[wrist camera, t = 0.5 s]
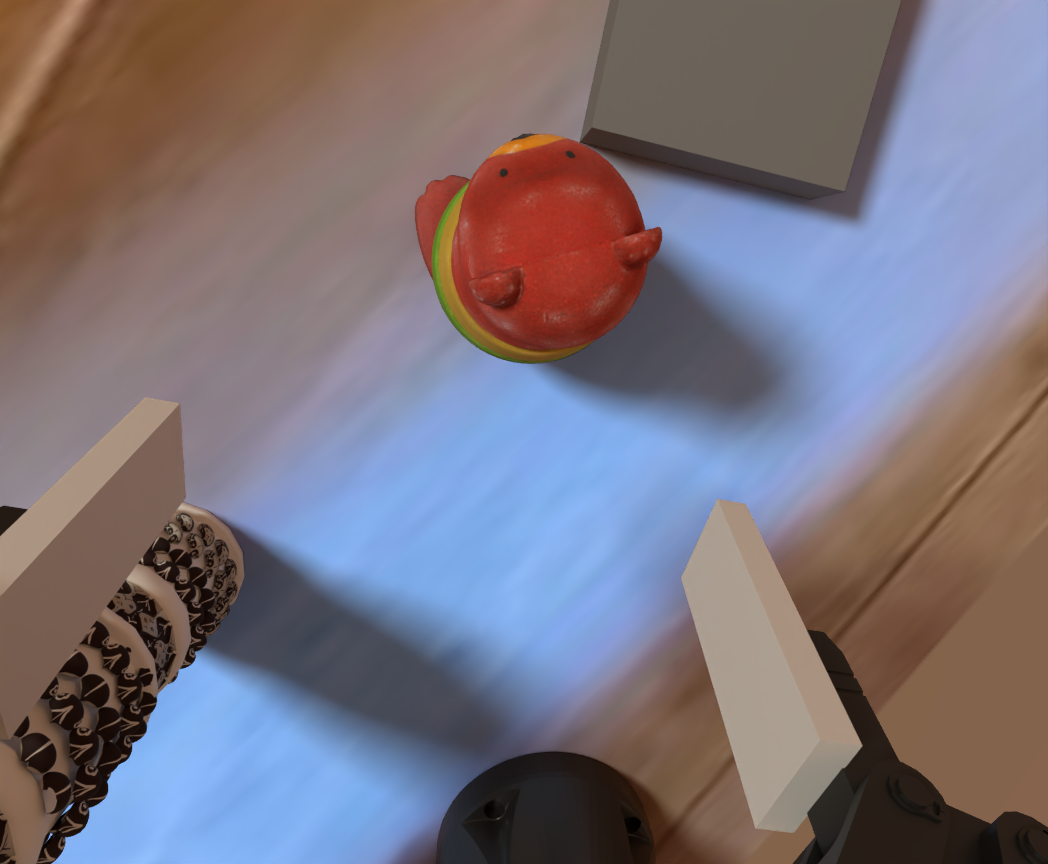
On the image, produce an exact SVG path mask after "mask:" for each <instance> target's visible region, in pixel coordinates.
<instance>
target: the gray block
mask: <svg viewBox="0 0 1048 864" xmlns="http://www.w3.org/2000/svg"><path fill="white" fill-rule="evenodd" d="M900 3H901V0H610V3H609V8H608V12H607V17H606V22H605V26H604V31H603V36H602V40H601V45H600V50H599V54H598V59H597V64H596V68H595V73H594V78H593V82H592V87H591V92H590V96H589V101H588V106H587V110H586V115H585V120H584V124H583V129H582V134H581V138H580V142H582V143H586V144H590V145H594V146H598V147H602V148H606V149H610V150H614V151H618V152H622V153H626V154H630V155H634V156H638V157H642V158H646V159H650V160H654V161H658V162H662V163H666V164H670V165H674V166H678V167H682V168H686V169H690V170H694V171H698V172H702V173H706V174H710V175H714V176H718V177H722V178H726V179H730V180H734V181H738V182H742V183H746V184H750V185H754V186H758V187H762V188H766V189H770V190H774V191H778V192H782V193H786V194H790V195H794V196H798V197H802V198H806V199H810V200H811V199H815V198H819V197H823V196H828V195H832V194H836V193H840V192H845V189H846V185H847V182H848V179H849V175H850V172H851V169H852V165H853V162H854V158H855V155H856V152H857V148H858V145H859V142H860V138H861V135H862V131H863V128H864V125H865V121H866V118H867V115H868V111H869V108H870V104H871V101H872V98H873V94H874V91H875V88H876V84H877V81H878V78H879V74H880V71H881V67H882V64H883V61H884V57H885V54H886V51H887V47H888V44H889V40H890V37H891V34H892V30H893V27H894V24H895V20H896V17H897V13H898V10H899V7H900Z"/></svg>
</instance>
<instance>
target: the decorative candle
mask: <svg viewBox="0 0 1048 864" xmlns="http://www.w3.org/2000/svg"><path fill="white" fill-rule="evenodd" d="M244 577H245V572H244V562H243V551H242V550H241V548H240V546H239V544H238V542H237V541H236V539H235V537H234V535H233V534H232V532H231V530H230V528H229V527H227V526H226V525H225V524H224V523H222V522H221V521H220V520H219V519H218V518H216V517H215V516H214V515H213V514H211V513H210V512H209V511H208V510H205V509H202V508H199V507H196V506H193V505H190V504H187V503H184V502H182V504H181V505H180V506H179V508H178V509H177V510H176V512H175V513H174V515H173V516H172V517H171V519H170V520H169V521H168V523H167V524H166V526H165V527H164V528H163V530H162V531H161V532H160V534H159V535H158V536H157V538H156V539H155V541H154V542H153V543H152V545H151V546H150V547H149V549H148V550H147V552H146V553H145V554H144V556H143V557H142V558H141V560H140V561H139V563H138V564H137V565H136V567H135V568H134V569H133V571H132V572H131V574H130V575H129V576H128V578H127V579H126V580H125V582H124V583H123V585H122V586H121V587H120V589H119V590H118V591H117V593H116V594H115V595H114V597H113V598H112V600H111V601H110V602H109V604H108V605H107V606H106V608H105V609H104V611H103V612H102V613H101V615H100V616H99V617H98V619H97V620H96V622H95V623H94V624H93V626H92V627H91V628H90V630H89V631H88V633H87V634H86V635H85V637H84V638H83V639H82V641H81V642H80V644H79V645H78V646H77V648H76V649H75V650H74V652H73V653H72V655H71V656H70V657H69V659H68V660H67V661H66V663H65V664H64V665H63V667H62V668H61V670H60V671H59V672H58V674H57V675H56V676H55V678H54V679H53V681H52V682H51V683H50V685H49V686H48V687H47V689H46V690H45V692H44V693H43V694H42V696H41V697H40V698H39V700H38V701H37V703H36V704H35V705H34V707H33V708H32V709H31V711H30V712H29V714H28V715H27V716H26V718H25V719H24V720H23V722H22V723H21V725H20V726H19V727H18V729H17V730H16V731H15V733H14V734H13V735H12V737H11V738H10V740H4V739H0V864H51V863H53V862H54V861H55V860H56V859H57V858H58V857H59V856H60V855H61V853H62V851H63V849H64V847H65V837H71V836H74V835H76V834H78V833H80V832H81V831H82V830H83V829H84V828H85V826H86V824H87V822H88V819H89V808H90V807H93V806H95V805H97V804H99V803H100V802H102V801H103V800H104V799H105V797H106V795H107V793H108V783H107V781H108V779H109V778H110V775H111V772H113V771H114V770H115V769H116V768H117V766H118V765H119V764H121V763H123V762H125V761H126V760H127V759H128V758H129V757H130V755H131V752H132V743H134V742H136V741H138V740H139V739H141V738H142V737H143V736H144V735H145V733H146V731H147V725H146V724H147V723H148V721H149V718H150V715H151V712H152V711H153V710H154V709H155V707H156V704H157V695H158V693H159V692H160V691H161V690H162V689H163V688H164V687H165V686H166V685H167V684H170V683H172V682H174V681H175V680H176V678H177V676H178V670H179V669H183V668H186V667H188V666H190V665H191V664H192V663H193V662H194V661H195V658H196V655H195V652H196V651H199V650H201V649H202V648H203V647H204V646H205V645H206V642H207V639H206V637H207V636H210V635H211V634H213V633H214V632H215V631H216V630H217V629H218V628H219V626H220V624H221V620H223V619H224V618H225V617H226V616H227V615H228V614H229V611H230V606H231V605H232V604H233V603H234V602H235V601H236V599H237V597H238V594H239V591H240V588H241V586H242V583H243V580H244ZM73 803H74V804H73ZM71 804H73V805H72V807H71V808H70V809H69V810H68V811H67V812H66V813H64V814H63V812H64V811H65V810H66V808H67V807H68V806H69V805H71ZM62 814H63V815H62ZM50 833H52V834H53V835H52V836H51V837H50V838H49V835H50ZM48 838H49V840H48ZM47 840H48V841H47ZM46 841H47V842H46Z"/></svg>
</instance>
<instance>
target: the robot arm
mask: <svg viewBox="0 0 1048 864" xmlns="http://www.w3.org/2000/svg"><path fill="white" fill-rule="evenodd" d="M185 498H186V493H185V477H184V460H183V444H182V428H181V412H180V403H174V402H169V401H163V400H157V399H152V398H146V397H145V398H144V399H143V400H142V401H141V402H140V403H139V404H138V405H137V406H136V407H135V408H134V409H133V410H132V411H131V412H130V413H128V414H127V415H126V416H125V417H124V418H123V419H122V420H121V421H120V422H119V423H118V424H117V425H116V426H115V427H114V428H113V429H112V430H111V431H110V432H109V433H108V434H107V435H106V436H104V437H103V438H102V439H101V440H100V441H99V442H98V443H97V444H96V445H95V446H94V447H93V448H92V449H91V450H90V451H89V452H88V453H87V454H86V455H85V456H84V457H83V458H81V459H80V460H79V461H78V462H77V463H76V464H75V465H74V466H73V467H72V468H71V469H70V470H69V471H68V472H67V473H66V474H65V475H64V476H63V477H62V478H61V479H60V480H59V481H57V482H56V483H55V484H54V485H53V486H52V487H51V488H50V489H49V490H48V491H47V492H46V493H45V494H44V495H43V496H42V497H41V498H40V499H39V500H38V501H37V502H36V503H34V504H33V505H32V506H31V507H30V508H29V509H22V508H15V507H9V506H2V507H0V739H4V740H10V738H11V737H12V735H13V734H14V733H15V731H16V730H17V729H18V727H19V726H20V725H21V723H22V722H23V720H24V719H25V718H26V716H27V715H28V714H29V712H30V711H31V709H32V708H33V707H34V705H35V704H36V703H37V701H38V700H39V698H40V697H41V696H42V694H43V693H44V692H45V690H46V689H47V687H48V686H49V685H50V683H51V682H52V681H53V679H54V678H55V676H56V675H57V674H58V672H59V671H60V670H61V668H62V667H63V665H64V664H65V663H66V661H67V660H68V659H69V657H70V656H71V655H72V653H73V652H74V650H75V649H76V648H77V646H78V645H79V644H80V642H81V641H82V639H83V638H84V637H85V635H86V634H87V633H88V631H89V630H90V628H91V627H92V626H93V624H94V623H95V622H96V620H97V619H98V617H99V616H100V615H101V613H102V612H103V611H104V609H105V608H106V606H107V605H108V604H109V602H110V601H111V600H112V598H113V597H114V595H115V594H116V593H117V591H118V590H119V589H120V587H121V586H122V585H123V583H124V582H125V580H126V579H127V578H128V576H129V575H130V574H131V572H132V571H133V569H134V568H135V567H136V565H137V564H138V563H139V561H140V560H141V558H142V557H143V556H144V554H145V553H146V552H147V550H148V549H149V547H150V546H151V545H152V543H153V542H154V541H155V539H156V538H157V536H158V535H159V534H160V532H161V531H162V530H163V528H164V527H165V526H166V524H167V523H168V521H169V520H170V519H171V517H172V516H173V515H174V513H175V512H176V510H177V509H178V508H179V506H180V505H181V504H182V502H183V501H184V499H185ZM681 579H682V583H683V586H684V589H685V593H686V596H687V599H688V603H689V606H690V610H691V613H692V616H693V620H694V623H695V626H696V630H697V633H698V636H699V640H700V643H701V647H702V650H703V653H704V657H705V660H706V663H707V667H708V670H709V673H710V677H711V680H712V684H713V687H714V690H715V694H716V697H717V700H718V704H719V707H720V711H721V714H722V717H723V721H724V724H725V727H726V731H727V734H728V737H729V741H730V744H731V748H732V751H733V754H734V758H735V761H736V764H737V768H738V771H739V774H740V778H741V781H742V785H743V788H744V791H745V795H746V798H747V801H748V805H749V808H750V811H751V815H752V818H753V822H754V825H755V828H757V829H765V830H774V831H783V832H791V833H794V832H795V830H796V829H797V828H798V827H799V825H800V824H801V823H802V822H803V820H804V819H805V817H807V815H808V817H809V820H810V822H811V825H812V828H813V831H814V833H815V838H814V839H813V840H812V841H811V843H810V844H809V845H808V846H807V847H806V848H805V850H804V851H803V852H802V853H801V854H800V856H799V857H798V858H797V859H796V860H795V862H794V863H793V864H1048V827H1046V826H1045V825H1043V824H1042V823H1040V822H1038V821H1037V820H1035V819H1034V818H1032V817H1030V816H1027V815H1024V814H1022V813H1019V812H1004V813H1003V814H1002V815H1001V816H999V817H998V818H997V819H996V820H995V821H994V822H993V823H992V824H990V823H988V822H985V821H983V820H981V819H978V818H976V817H974V816H972V815H969V814H967V813H965V812H962V811H960V810H958V809H955V808H953V807H951V806H949V805H947V804H946V803H945V801H944V799H943V797H942V796H941V794H940V793H939V792H938V790H937V789H936V788H935V787H934V785H933V784H932V783H931V782H930V781H929V780H928V779H927V778H925V777H924V776H923V775H922V774H921V773H919V772H918V771H917V770H915V769H913V768H912V767H910V766H908V765H906V764H904V763H902V762H900V761H899V759H898V758H897V756H896V754H895V752H894V750H893V748H892V746H891V744H890V742H889V740H888V738H887V737H886V735H885V733H884V731H883V729H882V727H881V725H880V723H879V721H878V719H877V717H876V716H875V714H874V712H873V710H872V708H871V706H870V704H869V702H868V700H867V698H866V696H863V691H862V689H861V687H860V685H859V683H858V681H857V679H856V678H854V677H853V675H854V674H853V672H852V670H851V668H850V666H849V664H848V662H847V660H846V658H845V656H844V654H843V653H842V651H841V650H840V649H839V648H838V647H837V646H836V645H835V644H834V643H833V642H832V641H831V639H830V638H829V637H828V636H827V635H826V634H825V633H824V632H819V631H813V630H806V628H805V626H804V624H803V622H802V619H801V617H800V615H799V613H798V611H797V609H796V607H795V605H794V603H793V601H792V599H791V597H790V595H789V593H788V590H787V588H786V586H785V584H784V582H783V580H782V578H781V576H780V574H779V572H778V570H777V568H776V566H775V564H774V561H773V559H772V557H771V555H770V553H769V551H768V549H767V547H766V545H765V543H764V541H763V539H762V537H761V535H760V533H759V530H758V528H757V526H756V524H755V522H754V520H753V518H752V516H751V514H750V512H749V510H748V508H747V506H746V504H743V503H737V502H731V501H726V500H720V499H717V501H716V503H715V505H714V507H713V510H712V512H711V514H710V516H709V518H708V520H707V523H706V525H705V527H704V529H703V531H702V534H701V536H700V538H699V540H698V542H697V544H696V547H695V549H694V551H693V553H692V555H691V558H690V560H689V562H688V564H687V566H686V568H685V571H684V573H683V575H682V577H681ZM436 864H655V847H654V841H653V836H652V832H651V829H650V826H649V823H648V820H647V817H646V814H645V811H644V808H643V806H642V803H641V801H640V799H639V797H638V796H637V794H636V792H635V791H634V790H633V788H632V787H631V786H630V785H629V784H628V782H627V781H626V780H625V779H624V778H623V777H621V776H620V775H619V774H618V773H616V772H615V771H614V770H612V769H611V768H609V767H607V766H605V765H604V764H602V763H599V762H597V761H595V760H592V759H590V758H586V757H583V756H579V755H574V754H568V753H537V754H530V755H525V756H521V757H517V758H514V759H511V760H508V761H505V762H503V763H501V764H498V765H496V766H494V767H492V768H490V769H489V770H487V771H485V772H484V773H482V774H481V775H479V776H478V777H477V778H475V779H474V780H473V781H472V782H470V783H469V784H468V785H467V786H466V787H465V788H464V789H463V790H462V791H461V792H460V793H459V794H458V796H457V797H456V798H455V800H454V801H453V802H452V804H451V805H450V807H449V809H448V810H447V812H446V814H445V817H444V819H443V821H442V824H441V827H440V831H439V835H438V843H437V861H436Z"/></svg>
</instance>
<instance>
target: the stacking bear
mask: <svg viewBox="0 0 1048 864" xmlns="http://www.w3.org/2000/svg"><path fill="white" fill-rule="evenodd" d="M415 222H416V230H417V235H418V240H419V244H420V248H421V252H422V255H423V258H424V261H425V263H426V266H427V268H428V271H429V273H430V275H431V277H432V279H433V281H434V285H435V289H436V293H437V296H438V298H439V301H440V304H441V306H442V308H443V310H444V312H445V314H446V315H447V317H448V318H449V320H450V321H451V323H452V324H453V325H454V327H455V328H456V329H457V330H458V331H459V332H460V333H461V335H462V336H463V337H465V338H466V339H467V340H468V341H469V342H470V343H472V344H473V345H475V346H476V347H477V348H479V349H480V350H482V351H484V352H486V353H488V354H490V355H492V356H495V357H497V358H500V359H503V360H507V361H511V362H517V363H527V364H536V363H546V362H551V361H556V360H560V359H562V358H565V357H568V356H570V355H572V354H575V353H577V352H578V351H580V350H582V349H584V348H585V347H587V346H588V345H590V344H591V343H592V342H594V341H595V340H596V339H598V338H600V337H601V336H603V335H605V334H606V333H607V332H609V331H610V330H611V329H613V328H614V327H615V326H616V325H617V324H618V323H619V322H620V321H621V320H622V319H623V318H624V317H625V316H626V314H627V313H628V312H629V310H630V309H631V307H632V306H633V304H634V303H635V301H636V299H637V297H638V295H639V293H640V291H641V288H642V286H643V283H644V280H645V275H646V270H647V265H648V262H649V261H650V260H652V259H653V257H654V256H655V255H656V254H657V252H658V251H659V248H660V245H661V241H662V230H661V228H660V227H656V228H653V229H649V230H647V231H646V230H645V226H644V223H643V219H642V215H641V212H640V210H639V207H638V204H637V201H636V199H635V197H634V194H633V193H632V191H631V190H630V188H629V186H628V185H627V183H626V182H625V180H624V179H623V178H622V176H621V175H620V174H619V173H618V171H617V170H616V169H615V168H614V167H613V166H612V165H611V164H610V163H609V162H608V161H607V160H606V159H604V158H603V157H602V156H601V155H599V154H598V153H597V152H595V151H593V150H592V149H590V148H588V147H586V146H585V145H583V144H581V143H578V142H576V141H574V140H570V139H567V138H564V137H560V136H555V135H549V134H522V135H521V136H519V137H517V138H514V139H512V140H511V141H510V142H508V143H506V144H504V145H502V146H501V147H499V148H498V149H496V150H495V151H494V152H493V153H492V154H491V155H490V156H489V157H488V158H487V159H486V161H485V162H484V163H483V164H482V165H481V166H480V167H479V169H478V170H477V171H476V173H475V174H474V175H473V177H472V179H471V180H469V179H467V178H464V177H460V176H455V175H451V176H448V177H446V178H445V179H444V180H441V181H440V180H434V181H431V182H430V183H429V184H428V185H427V187H426V192H425V194H424V195H422V196H420V197H419V198H418V200H417V202H416V206H415Z"/></svg>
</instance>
